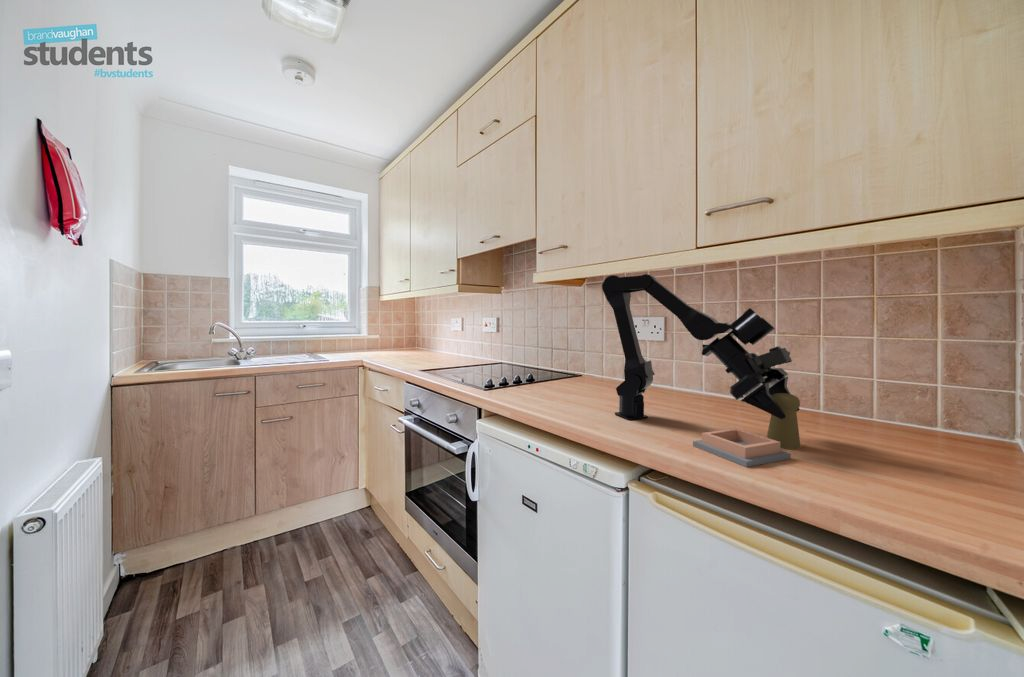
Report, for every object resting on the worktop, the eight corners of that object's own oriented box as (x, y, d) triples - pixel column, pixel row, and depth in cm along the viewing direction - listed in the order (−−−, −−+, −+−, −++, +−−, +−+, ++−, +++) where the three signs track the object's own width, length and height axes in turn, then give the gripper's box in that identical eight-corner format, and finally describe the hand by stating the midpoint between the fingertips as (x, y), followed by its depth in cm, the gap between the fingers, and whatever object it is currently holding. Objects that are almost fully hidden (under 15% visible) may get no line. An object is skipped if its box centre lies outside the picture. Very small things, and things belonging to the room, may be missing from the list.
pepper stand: (692, 445, 78) (693, 431, 78) (733, 439, 82) (734, 426, 82) (746, 467, 67) (746, 450, 67) (790, 458, 71) (791, 443, 71)
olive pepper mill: (759, 439, 82) (761, 391, 81) (787, 440, 82) (789, 391, 81) (778, 449, 76) (780, 396, 75) (808, 449, 76) (810, 397, 75)
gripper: (748, 335, 75) (814, 398, 67) (778, 333, 87) (838, 386, 79) (707, 369, 82) (763, 430, 74) (740, 363, 93) (791, 415, 85)
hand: (791, 414), depth 78 cm, fingers open, 9 cm apart
